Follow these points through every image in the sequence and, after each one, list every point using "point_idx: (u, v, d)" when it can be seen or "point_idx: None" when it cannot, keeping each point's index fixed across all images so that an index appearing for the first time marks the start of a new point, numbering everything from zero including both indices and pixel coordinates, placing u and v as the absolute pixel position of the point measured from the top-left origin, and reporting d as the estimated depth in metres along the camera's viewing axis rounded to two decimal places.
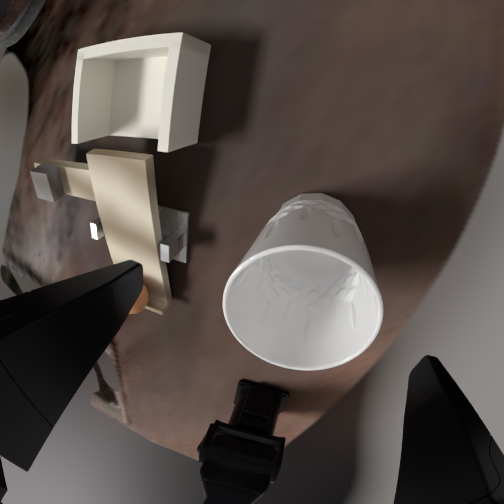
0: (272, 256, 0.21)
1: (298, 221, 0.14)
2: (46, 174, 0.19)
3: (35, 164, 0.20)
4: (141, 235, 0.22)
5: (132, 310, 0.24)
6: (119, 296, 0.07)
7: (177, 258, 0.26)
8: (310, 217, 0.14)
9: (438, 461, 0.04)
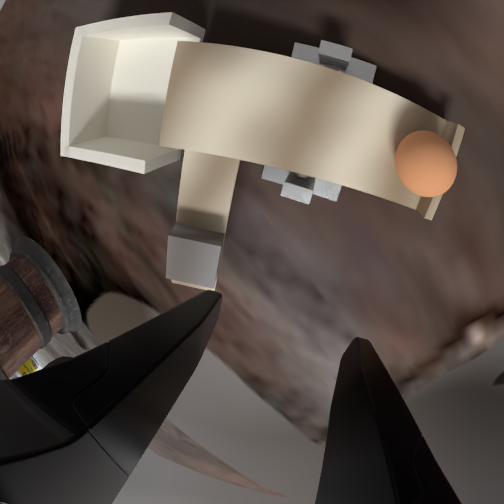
0: None
1: None
2: (168, 235, 0.15)
3: None
4: (307, 87, 0.12)
5: (447, 153, 0.10)
6: (204, 332, 0.07)
7: (369, 77, 0.13)
8: None
9: (354, 459, 0.04)
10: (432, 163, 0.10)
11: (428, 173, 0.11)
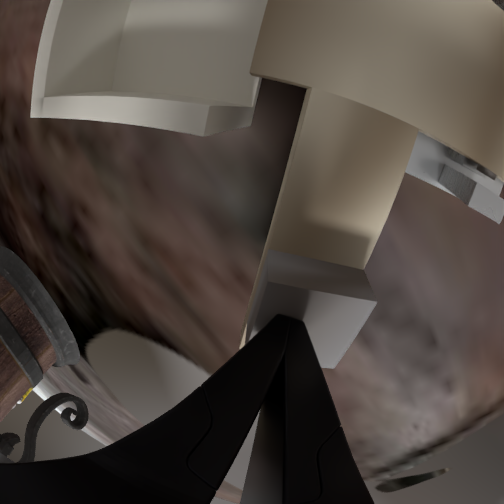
0: None
1: None
2: (268, 281, 0.07)
3: (244, 344, 0.10)
4: (502, 39, 0.04)
5: None
6: None
7: None
8: None
9: (268, 442, 0.05)
10: None
11: None
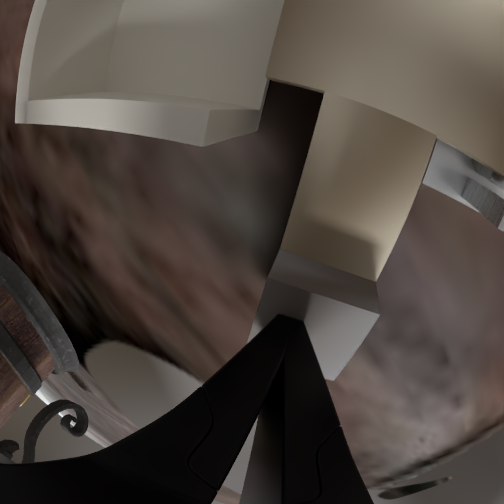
0: None
1: None
2: (268, 276, 0.07)
3: None
4: None
5: None
6: None
7: None
8: None
9: (267, 442, 0.05)
10: None
11: None
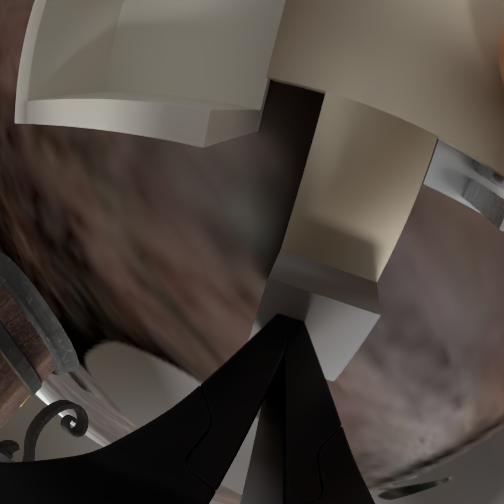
0: None
1: None
2: (269, 277, 0.07)
3: None
4: None
5: None
6: None
7: None
8: None
9: (268, 442, 0.05)
10: None
11: None
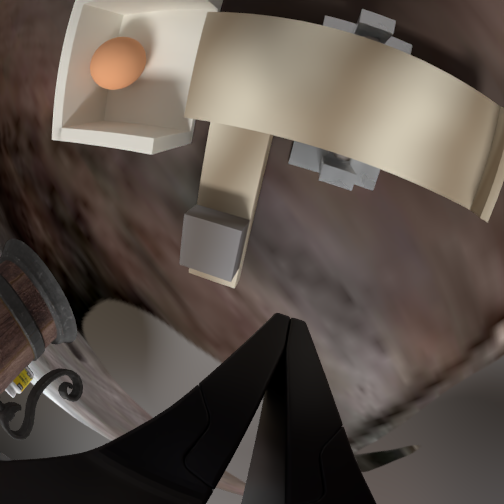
0: None
1: None
2: (184, 214, 0.14)
3: (191, 269, 0.17)
4: (344, 57, 0.10)
5: (133, 45, 0.11)
6: None
7: None
8: None
9: (269, 443, 0.05)
10: (120, 57, 0.11)
11: (118, 66, 0.11)
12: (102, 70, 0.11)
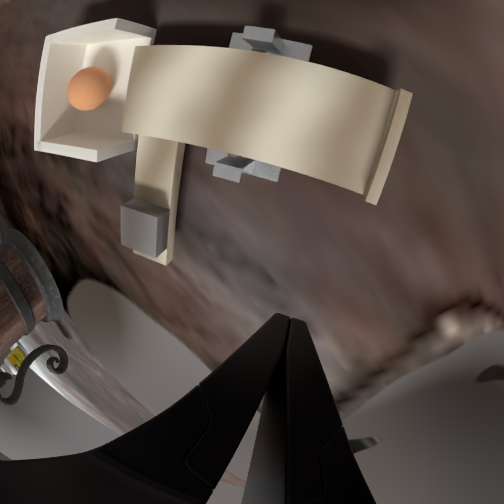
0: None
1: None
2: None
3: (135, 249, 0.20)
4: (231, 71, 0.13)
5: (107, 75, 0.15)
6: None
7: (305, 57, 0.13)
8: None
9: (269, 443, 0.05)
10: (102, 85, 0.15)
11: (100, 92, 0.15)
12: (88, 96, 0.14)
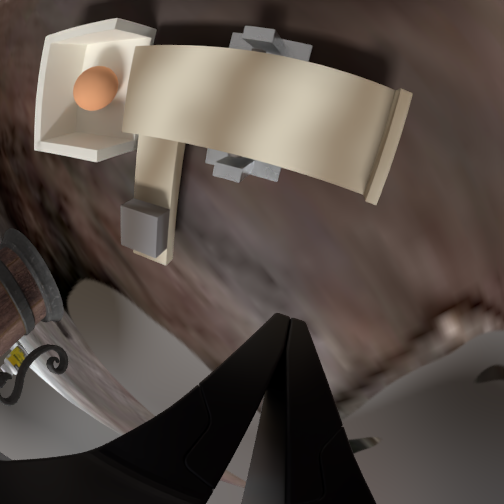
0: None
1: None
2: None
3: (135, 249, 0.20)
4: (231, 71, 0.13)
5: None
6: None
7: (305, 57, 0.13)
8: None
9: (269, 442, 0.05)
10: (115, 85, 0.15)
11: (114, 92, 0.16)
12: (104, 96, 0.15)
